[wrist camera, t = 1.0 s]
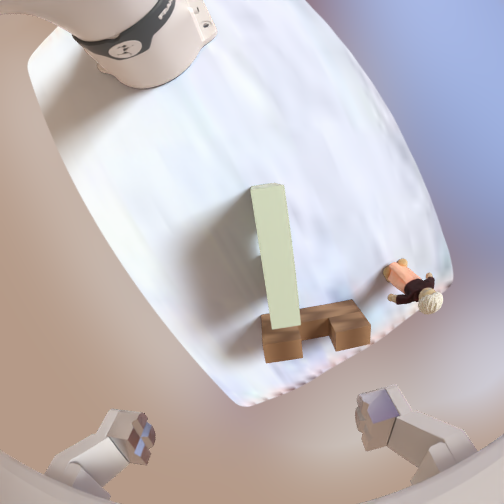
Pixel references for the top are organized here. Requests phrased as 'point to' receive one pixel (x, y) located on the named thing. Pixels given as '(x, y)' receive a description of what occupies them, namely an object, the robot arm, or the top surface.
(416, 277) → the grandmother figurine
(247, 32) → the top surface
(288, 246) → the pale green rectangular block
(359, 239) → the top surface
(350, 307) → the wooden u-shaped block
